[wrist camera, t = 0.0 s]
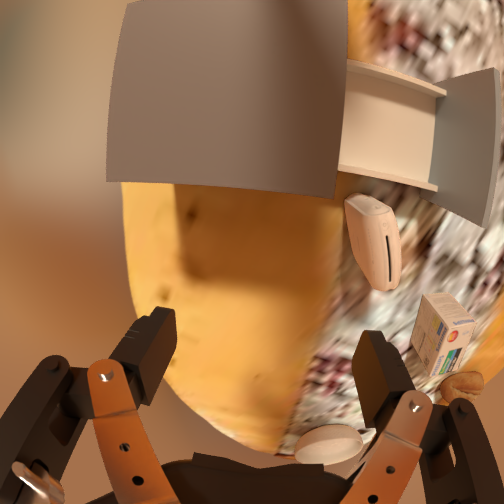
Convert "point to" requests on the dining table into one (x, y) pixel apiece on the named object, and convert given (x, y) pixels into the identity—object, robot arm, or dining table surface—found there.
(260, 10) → the cabinet
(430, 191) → the drawer tray
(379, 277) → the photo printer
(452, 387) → the bread roll
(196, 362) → the dining table surface
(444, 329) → the light bulb box
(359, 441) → the cereal bowl
